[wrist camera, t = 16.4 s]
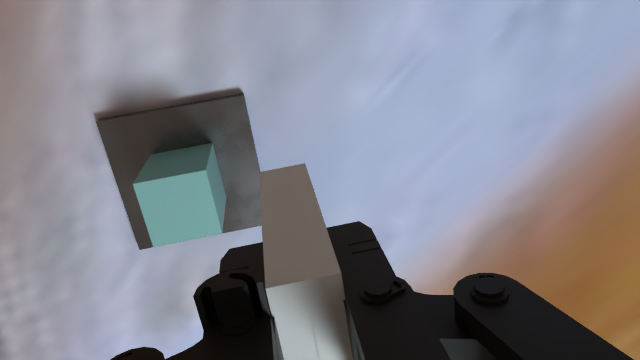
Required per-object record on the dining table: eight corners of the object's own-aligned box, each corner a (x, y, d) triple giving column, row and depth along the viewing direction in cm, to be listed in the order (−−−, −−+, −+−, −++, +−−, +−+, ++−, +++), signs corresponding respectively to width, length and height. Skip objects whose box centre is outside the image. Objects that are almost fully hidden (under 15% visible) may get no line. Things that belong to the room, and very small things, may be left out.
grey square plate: (99, 119, 39) (73, 141, 34) (243, 93, 40) (242, 110, 35) (141, 245, 44) (124, 283, 38) (270, 219, 45) (273, 253, 39)
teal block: (150, 154, 40) (132, 183, 34) (212, 143, 41) (205, 170, 34) (167, 209, 42) (153, 247, 36) (226, 198, 43) (222, 233, 36)
